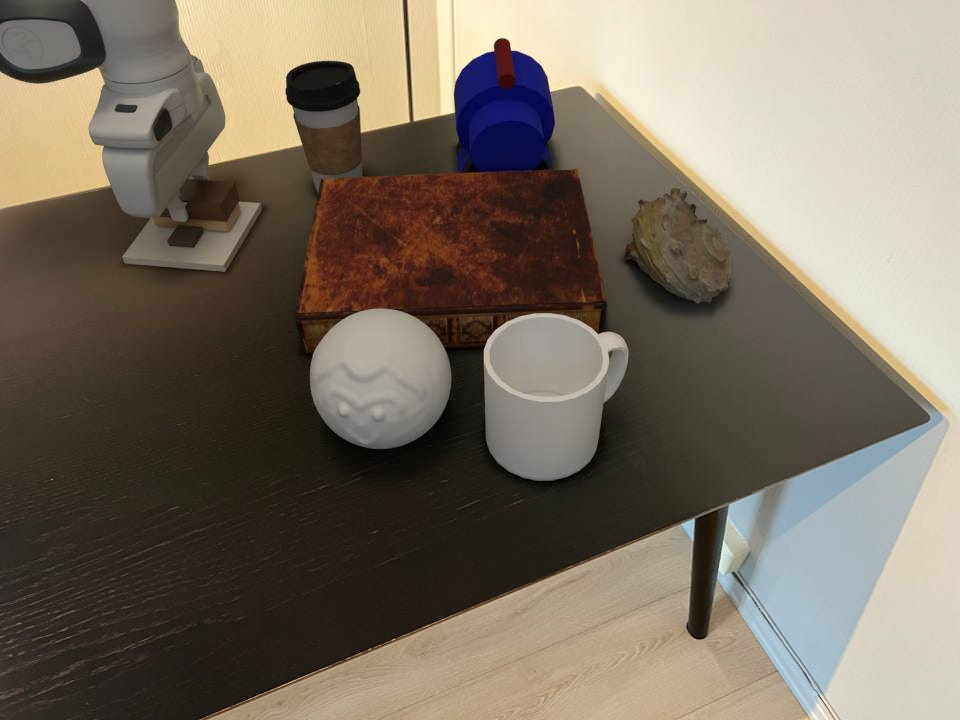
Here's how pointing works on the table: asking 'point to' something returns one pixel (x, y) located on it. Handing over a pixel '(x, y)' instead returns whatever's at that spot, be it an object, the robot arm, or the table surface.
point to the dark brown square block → (185, 236)
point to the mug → (548, 393)
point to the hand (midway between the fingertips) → (192, 203)
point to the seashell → (679, 248)
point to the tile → (208, 252)
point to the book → (451, 253)
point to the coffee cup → (327, 117)
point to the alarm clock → (503, 113)
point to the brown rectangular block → (206, 205)
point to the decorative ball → (380, 378)
